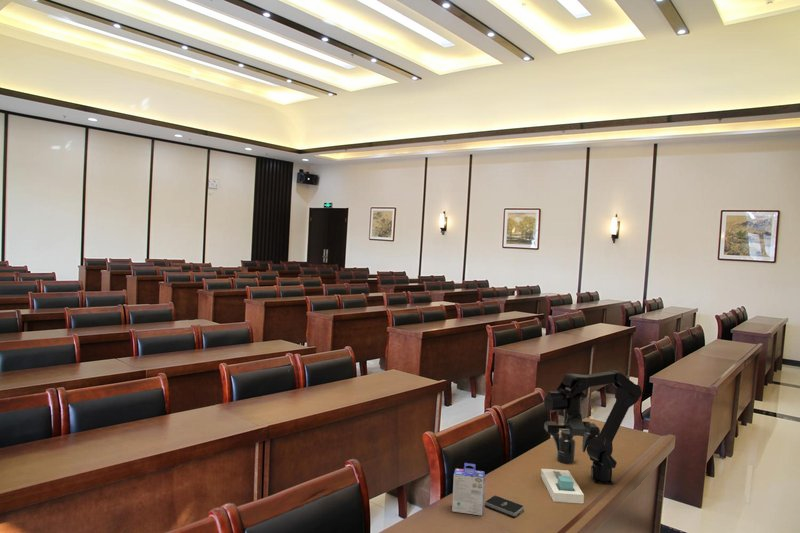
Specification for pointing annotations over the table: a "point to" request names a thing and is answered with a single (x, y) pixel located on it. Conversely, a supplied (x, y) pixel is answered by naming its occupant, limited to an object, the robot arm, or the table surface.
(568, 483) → the square peg
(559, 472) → the socket plate
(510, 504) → the external hard drive
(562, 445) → the supplement bottle
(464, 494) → the ink cartridge box
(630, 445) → the table surface
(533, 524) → the table surface
